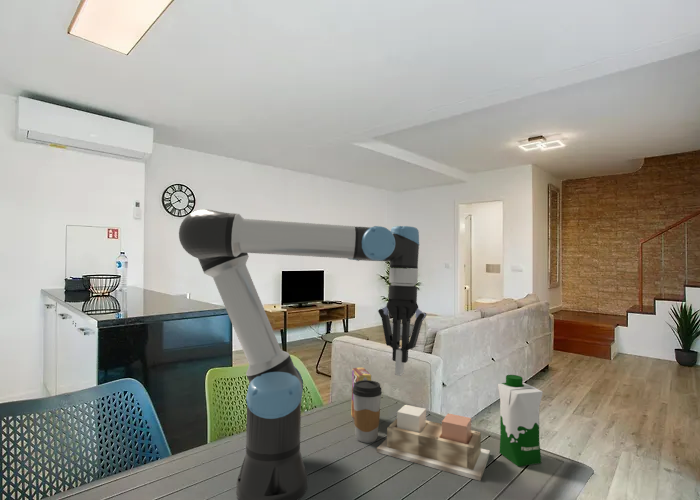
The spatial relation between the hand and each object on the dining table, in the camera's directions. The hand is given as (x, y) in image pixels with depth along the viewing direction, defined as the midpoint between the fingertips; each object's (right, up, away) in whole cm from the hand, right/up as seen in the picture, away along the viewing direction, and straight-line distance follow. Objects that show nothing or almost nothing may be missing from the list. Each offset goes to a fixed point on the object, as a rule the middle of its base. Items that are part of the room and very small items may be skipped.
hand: (399, 374), depth 100 cm
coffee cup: (-8, -21, +7) cm, 23 cm away
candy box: (-10, -21, +19) cm, 30 cm away
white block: (+4, -18, +2) cm, 18 cm away
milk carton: (+31, -21, -3) cm, 37 cm away
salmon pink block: (+14, -17, -4) cm, 23 cm away
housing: (+9, -20, -1) cm, 22 cm away
